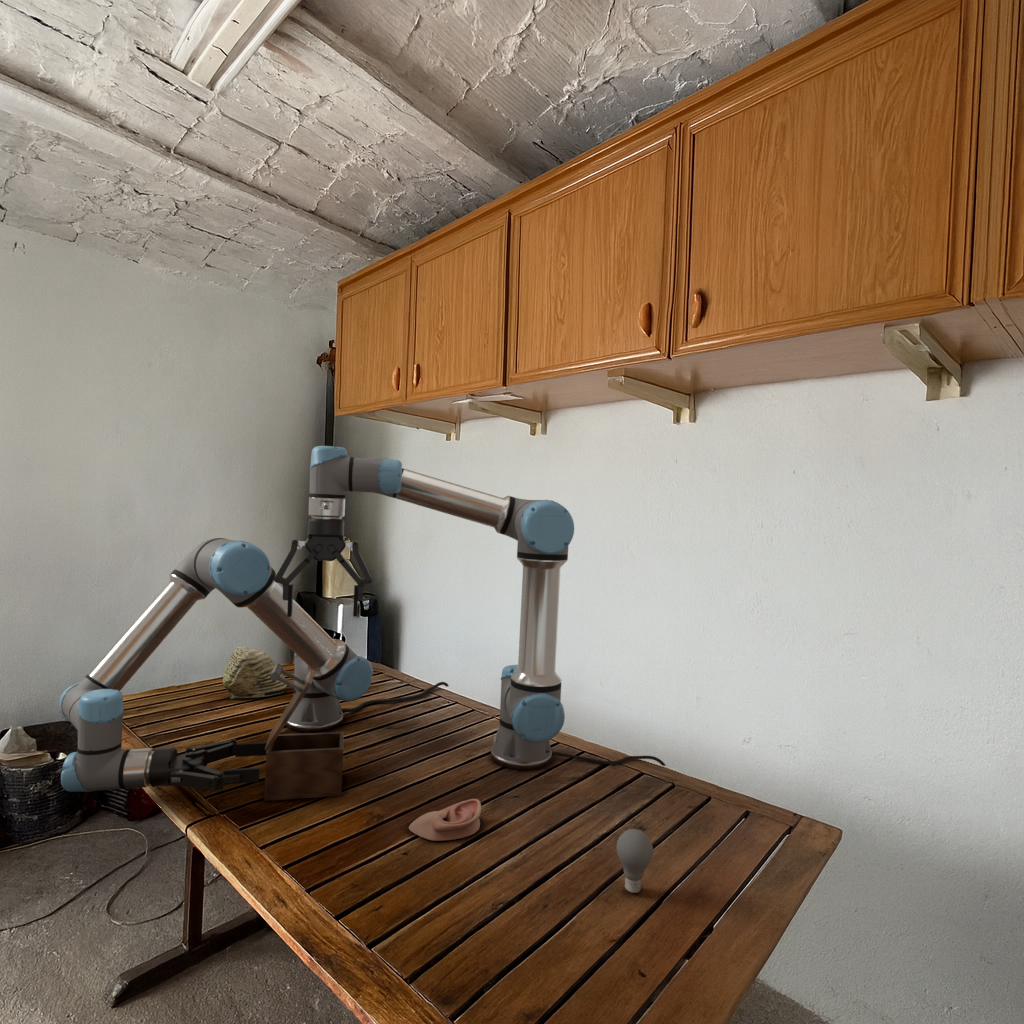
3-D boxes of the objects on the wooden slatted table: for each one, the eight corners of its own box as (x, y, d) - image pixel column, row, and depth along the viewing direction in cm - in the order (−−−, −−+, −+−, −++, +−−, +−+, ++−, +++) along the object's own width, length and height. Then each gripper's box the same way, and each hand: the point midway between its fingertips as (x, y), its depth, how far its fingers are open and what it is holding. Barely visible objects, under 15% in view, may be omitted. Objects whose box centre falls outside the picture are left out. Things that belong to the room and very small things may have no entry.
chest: (341, 775, 144) (343, 731, 144) (341, 795, 135) (343, 748, 134) (270, 780, 140) (271, 734, 140) (264, 801, 131) (266, 752, 131)
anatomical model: (403, 815, 119) (423, 788, 130) (402, 836, 119) (423, 807, 131) (471, 825, 117) (486, 797, 128) (470, 847, 117) (485, 817, 128)
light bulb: (610, 879, 108) (613, 822, 108) (644, 879, 109) (647, 822, 109) (619, 902, 102) (622, 840, 102) (655, 901, 103) (658, 840, 103)
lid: (314, 671, 142) (282, 653, 140) (311, 684, 132) (277, 665, 131) (273, 733, 140) (240, 716, 139) (268, 751, 131) (232, 733, 129)
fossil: (218, 695, 195) (220, 647, 195) (278, 685, 208) (279, 640, 207) (228, 703, 189) (230, 653, 188) (289, 692, 201) (290, 645, 201)
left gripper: (168, 760, 142) (269, 755, 147) (132, 815, 118) (254, 806, 123) (169, 727, 142) (270, 723, 147) (133, 775, 118) (255, 768, 123)
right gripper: (262, 516, 130) (259, 619, 131) (386, 520, 137) (382, 618, 137) (267, 515, 138) (263, 612, 138) (384, 519, 144) (380, 612, 144)
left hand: (263, 760), depth 135 cm, fingers open, 13 cm apart
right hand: (322, 615), depth 137 cm, fingers open, 13 cm apart
